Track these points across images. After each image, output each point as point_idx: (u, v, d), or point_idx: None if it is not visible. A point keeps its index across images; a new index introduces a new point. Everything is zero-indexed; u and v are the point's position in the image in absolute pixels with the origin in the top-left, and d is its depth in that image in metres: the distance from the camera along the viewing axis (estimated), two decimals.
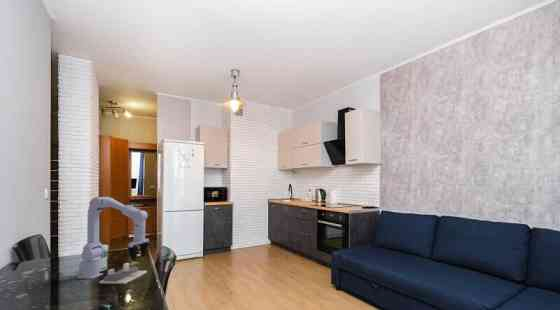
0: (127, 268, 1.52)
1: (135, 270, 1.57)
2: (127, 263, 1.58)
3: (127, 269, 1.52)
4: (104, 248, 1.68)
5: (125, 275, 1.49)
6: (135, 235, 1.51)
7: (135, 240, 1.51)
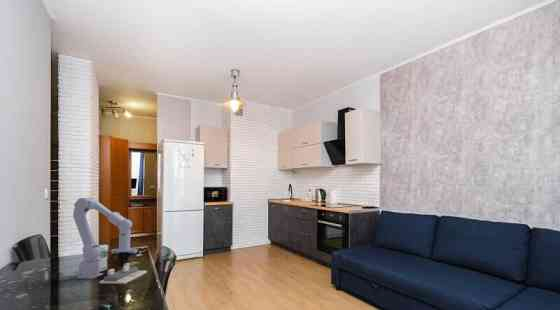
0: (127, 268, 1.52)
1: (135, 270, 1.57)
2: (127, 263, 1.58)
3: (127, 269, 1.52)
4: (104, 248, 1.68)
5: (125, 275, 1.49)
6: None
7: None
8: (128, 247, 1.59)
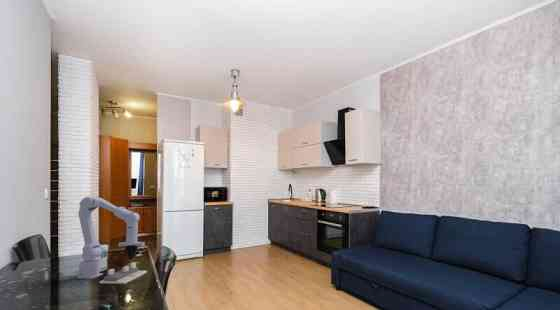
0: (127, 268, 1.52)
1: (135, 270, 1.57)
2: (134, 263, 1.58)
3: (127, 269, 1.52)
4: (104, 248, 1.68)
5: (125, 275, 1.49)
6: None
7: None
8: (135, 240, 1.57)
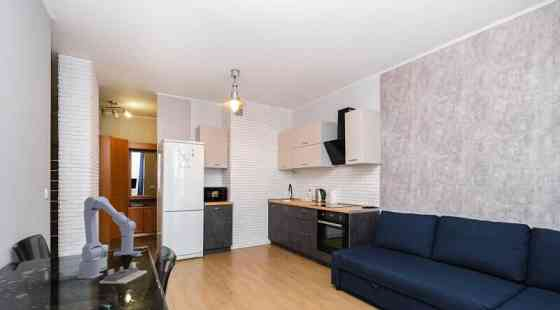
0: None
1: (135, 270, 1.57)
2: (134, 263, 1.58)
3: None
4: (104, 248, 1.68)
5: (125, 275, 1.49)
6: None
7: None
8: (131, 249, 1.52)
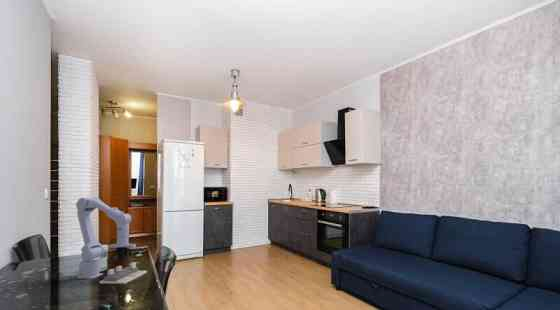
0: (120, 268, 1.52)
1: (135, 270, 1.57)
2: (134, 263, 1.58)
3: (120, 269, 1.52)
4: (104, 248, 1.68)
5: (125, 275, 1.49)
6: None
7: None
8: (126, 242, 1.53)
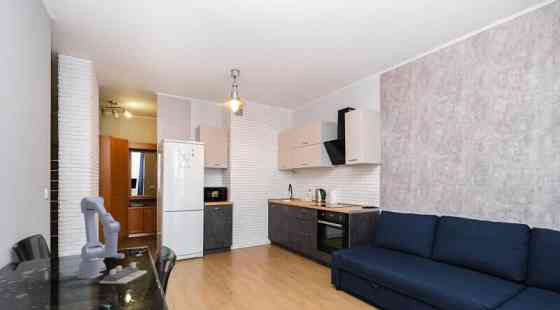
0: (120, 268, 1.52)
1: (135, 270, 1.57)
2: (134, 263, 1.58)
3: (120, 269, 1.52)
4: (104, 248, 1.68)
5: (125, 275, 1.49)
6: None
7: None
8: (115, 252, 1.47)
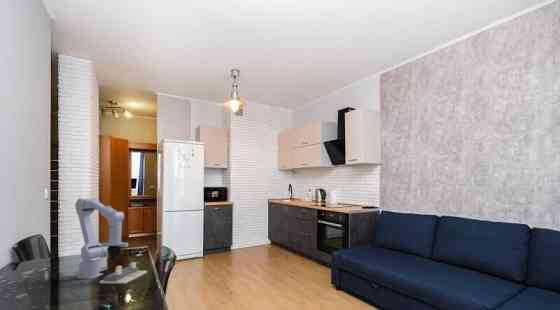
0: (120, 268, 1.52)
1: (135, 270, 1.57)
2: (134, 263, 1.58)
3: None
4: (104, 248, 1.68)
5: (125, 275, 1.49)
6: None
7: None
8: (119, 240, 1.50)
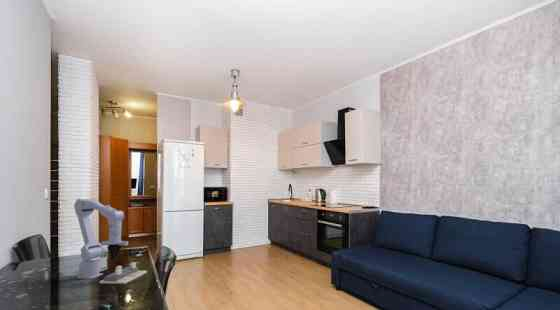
0: (120, 268, 1.52)
1: (135, 270, 1.57)
2: (134, 263, 1.58)
3: None
4: (104, 248, 1.68)
5: (125, 275, 1.49)
6: None
7: None
8: (119, 239, 1.50)
